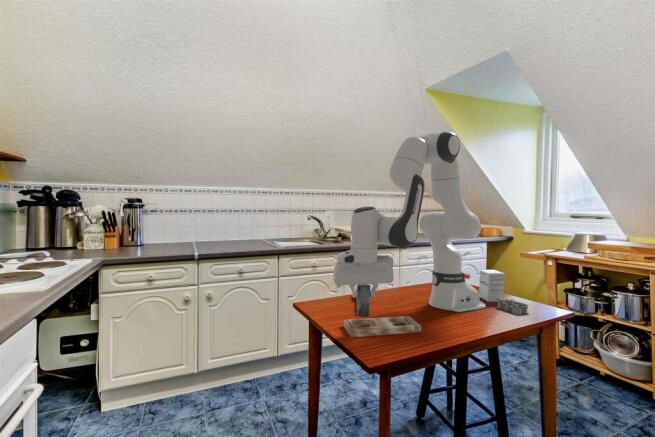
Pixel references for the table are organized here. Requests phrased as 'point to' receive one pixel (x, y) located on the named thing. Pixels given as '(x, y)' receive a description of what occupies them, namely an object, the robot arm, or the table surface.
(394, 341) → the table surface
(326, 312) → the table surface
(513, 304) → the egg carton
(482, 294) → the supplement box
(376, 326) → the beige flat frame
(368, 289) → the steel peg
